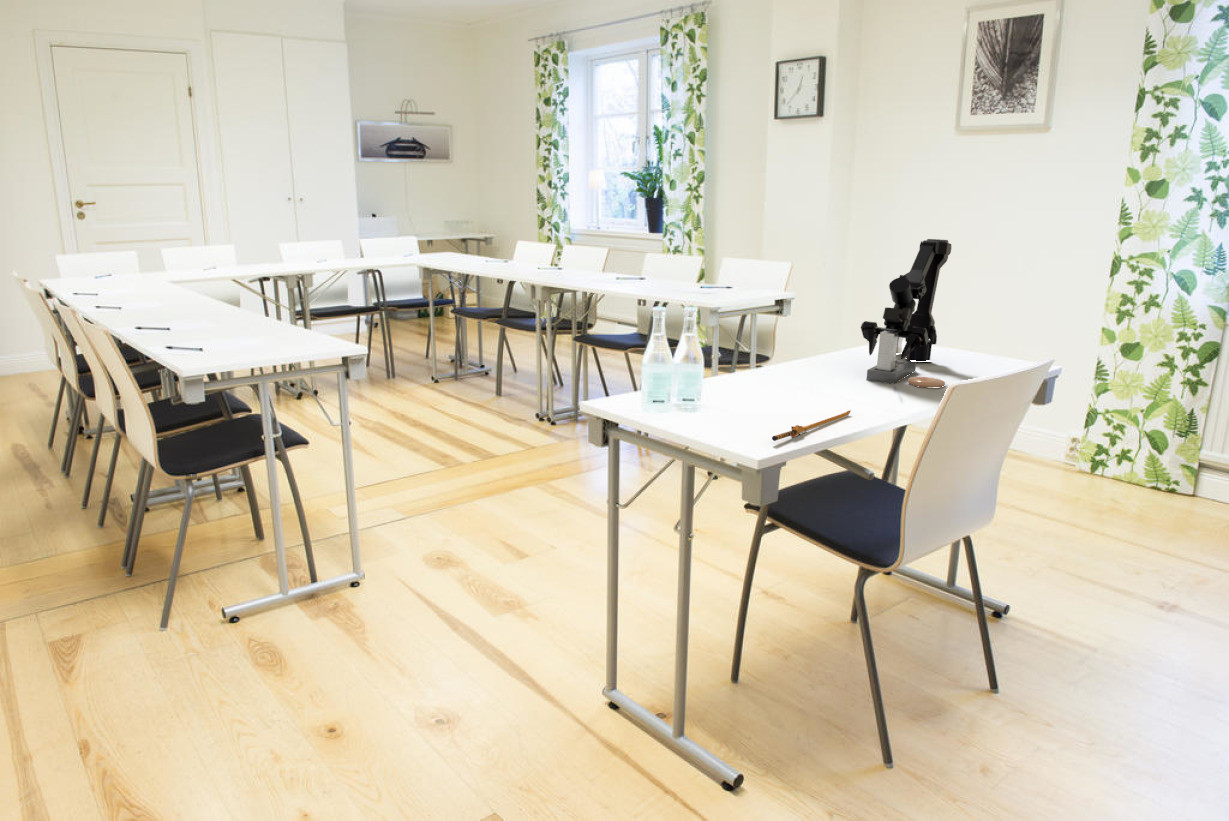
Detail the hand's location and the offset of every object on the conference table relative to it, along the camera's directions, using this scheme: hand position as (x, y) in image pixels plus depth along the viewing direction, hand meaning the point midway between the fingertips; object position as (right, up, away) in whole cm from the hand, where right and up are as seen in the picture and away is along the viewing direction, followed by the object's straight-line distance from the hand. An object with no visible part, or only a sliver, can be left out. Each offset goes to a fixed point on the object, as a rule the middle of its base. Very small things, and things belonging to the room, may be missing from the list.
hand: (885, 356), depth 248 cm
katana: (-32, -20, -48) cm, 61 cm away
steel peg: (+1, -7, +3) cm, 7 cm away
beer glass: (+15, +3, +41) cm, 44 cm away
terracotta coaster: (+11, -8, -2) cm, 14 cm away
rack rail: (+4, -5, +8) cm, 10 cm away
